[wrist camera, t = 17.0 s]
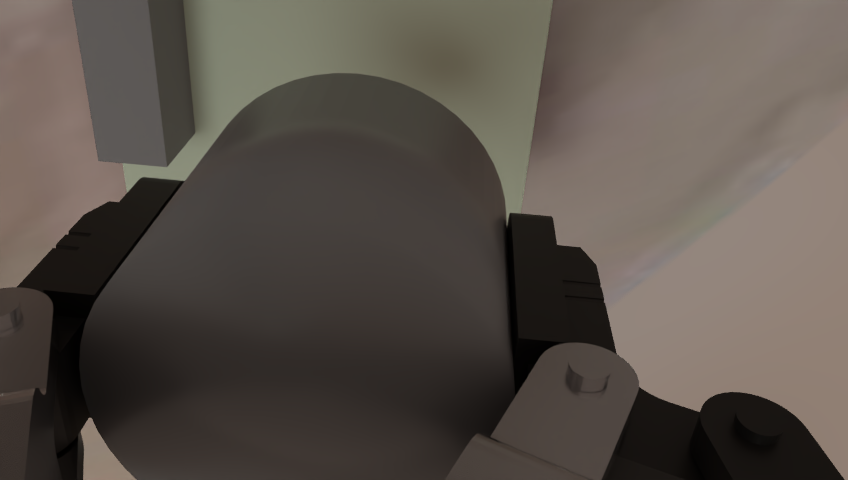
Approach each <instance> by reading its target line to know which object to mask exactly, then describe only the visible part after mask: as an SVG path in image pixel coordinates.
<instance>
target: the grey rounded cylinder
mask: <svg viewBox="0 0 848 480" xmlns="http://www.w3.org/2000/svg"><path fill="white" fill-rule="evenodd" d="M79 370H80V378H81V386H82V391H83V394H84V398H85V401H86V405H87V408H88V411H89V413H90V415H91V417H92V419H93V422H94V424H95V426H96V428H97V430H98V432H99V433H100V435H101V437H102V438H103V440H104V441H105V443H106V444H107V446H108V448H109V449H110V450H111V452H112V453H113V454H114V455H115V457H116V458H117V459H118V460H119V461H120V463H121V464H122V465H123V466H124V468H125V469H126V470H127V471H128V472H130V473H131V474H132V475H133V476H134V477H135V478H136V479H137V480H445V478H446V477H447V475H448V474H449V472H450V471H451V469H452V468H453V466H454V465H455V463H456V462H457V460H458V459H459V457H460V455H461V454H462V452H463V451H464V449H465V448H466V446H467V445H468V443H469V442H470V441H471V439H472V438H473V437H474V436H475V435H476V434H477V433H483V434H485V435H488V436H491V435H492V433H493V431H494V430H495V428H496V427H497V425H498V423H499V422H500V420H501V419H502V417H503V415H504V414H505V412H506V411H507V409H508V407H509V406H510V404H511V403H512V401H513V399H514V398H515V381H514V369H513V349H512V328H511V307H510V286H509V265H508V244H507V217H506V205H505V197H504V193H503V189H502V184H501V181H500V178H499V176H498V173H497V171H496V168H495V165H494V163H493V161H492V160H491V158H490V156H489V154H488V153H487V151H486V149H485V147H484V146H483V145H482V143H481V142H480V141H479V139H478V138H477V137H476V135H475V134H474V133H473V131H472V130H471V129H470V128H469V127H468V126H467V125H466V124H465V123H464V122H463V121H462V120H461V119H460V118H459V117H458V116H457V115H455V114H454V113H453V112H451V111H450V110H449V109H448V108H446V107H445V106H444V105H442V104H441V103H440V102H438V101H436V100H435V99H433V98H431V97H429V96H428V95H426V94H424V93H423V92H421V91H418V90H416V89H414V88H411V87H409V86H407V85H404V84H402V83H399V82H396V81H392V80H389V79H385V78H382V77H377V76H370V75H364V74H357V73H330V74H321V75H313V76H309V77H304V78H300V79H296V80H293V81H290V82H287V83H285V84H282V85H280V86H277V87H275V88H273V89H271V90H269V91H268V92H266V93H264V94H262V95H260V96H259V97H257V98H256V99H254V100H253V101H252V102H251V103H249V104H248V105H247V106H245V107H244V108H243V109H242V110H241V111H240V112H239V113H238V114H237V115H236V116H235V117H234V118H233V119H232V120H231V121H230V122H229V123H228V125H227V126H226V127H225V129H224V130H223V131H222V133H221V134H220V135H219V137H218V138H217V139H216V141H215V142H214V143H213V145H212V146H211V147H210V149H209V150H208V151H207V153H206V154H205V155H204V156H203V158H202V159H201V160H200V162H199V163H198V164H197V166H196V167H195V168H194V170H193V171H192V172H191V174H190V175H189V176H188V178H187V179H186V180H185V182H184V183H183V184H182V186H181V187H180V188H179V189H178V191H177V192H176V193H175V195H174V196H173V197H172V199H171V200H170V201H169V203H168V204H167V205H166V207H165V208H164V209H163V211H162V212H161V213H160V215H159V216H158V217H157V219H156V220H155V221H154V222H153V224H152V225H151V226H150V228H149V229H148V230H147V232H146V233H145V234H144V236H143V237H142V238H141V240H140V241H139V242H138V244H137V245H136V246H135V248H134V249H133V250H132V252H131V253H130V254H129V256H128V257H127V258H126V259H125V261H124V262H123V263H122V265H121V266H120V267H119V269H118V270H117V271H116V273H115V274H114V275H113V277H112V278H111V279H110V281H109V282H108V283H107V285H106V286H105V288H104V289H103V291H102V292H101V294H100V295H99V296H98V298H97V299H96V301H95V302H94V304H93V307H92V309H91V311H90V313H89V316H88V318H87V320H86V323H85V326H84V330H83V335H82V339H81V343H80V357H79Z"/></svg>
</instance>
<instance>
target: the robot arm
mask: <svg viewBox="0 0 848 480" xmlns="http://www.w3.org/2000/svg"><path fill="white" fill-rule="evenodd" d="M184 182H185V181H180V180H170V179H159V178H149V177H142V178H140V179H139V180H138V181H137V182H136V183H135V185H134V186H133V187H132V188H131V189H130V190H129V191H128V193H127V194H126V195H125V196H124V197H123V198H122V199H121V201H120V202H110V201H109V202H107V203H105V204H103V205H102V206H100V207H98V208H96V209H94V210H92V211H90V212H88V213H86V214H85V215H83V216H82V217H81V219H80V220H79V221H78V222H77V223H76V224H75V225H74V226H73V227H72V228H71V229H70V230H69V234H68V235H65V236H64V237H63V238H62V239H61V240H60V241H59V242H58V243H57V244H56V249H55V248H53V249H52V250H51V251H50V252H49V253H48V254H47V255H46V256H45V257H44V258H43V259H42V261H41V262H40V263H39V264H38V265H37V266H36V267H35V268H34V269H33V270H32V271H31V272H30V273H29V275H28V276H27V277H26V278H25V279H24V280H23V281H22V282H21V283H20V284H19V285H18V286H17V287H11V288H1V289H0V480H83V460H84V446H83V440H82V435H81V429H82V428H83V426H84V425H85V423H86V421H87V420H88V418H92V417H91V415H90V413H89V411H88V408H87V405H86V401H85V398H84V394H83V391H82V386H81V378H80V370H79V357H80V343H81V339H82V335H83V330H84V326H85V323H86V320H87V318H88V316H89V313H90V311H91V309H92V307H93V304H94V302H95V301H96V299H97V298H98V296H99V295H100V294H101V292H102V291H103V289H104V288H105V286H106V285H107V283H108V282H109V281H110V279H111V278H112V277H113V275H114V274H115V273H116V271H117V270H118V269H119V267H120V266H121V265H122V263H123V262H124V261H125V259H126V258H127V257H128V256H129V254H130V253H131V252H132V250H133V249H134V248H135V246H136V245H137V244H138V242H139V241H140V240H141V238H142V237H143V236H144V234H145V233H146V232H147V230H148V229H149V228H150V226H151V225H152V224H153V222H154V221H155V220H156V219H157V217H158V216H159V215H160V213H161V212H162V211H163V209H164V208H165V207H166V205H167V204H168V203H169V201H170V200H171V199H172V197H173V196H174V195H175V193H176V192H177V191H178V189H179V188H180V187H181V186H182V184H183V183H184ZM507 244H508V265H509V286H510V307H511V328H512V349H513V369H514V381H515V398H514V399H513V401H512V403H511V404H510V406H509V407H508V409H507V411H506V412H505V414H504V415H503V417H502V419H501V420H500V422H499V423H498V425H497V427H496V428H495V430H494V431H493V433H492V435H491V436H488V435H485V434H483V433H477V434H476V435H475V436H474V437H473V438H472V439H471V441H470V442H469V443H468V445H467V446H466V448H465V449H464V451H463V452H462V454H461V455H460V457H459V459H458V460H457V462H456V463H455V465H454V466H453V468H452V469H451V471H450V472H449V474H448V475H447V477H446V478H445V480H844V478H843V477H842V476H841V475H840V473H839V472H838V470H837V469H836V468H835V466H834V465H833V463H832V462H831V461H830V459H829V458H828V457H827V455H826V454H825V453H824V451H823V450H822V448H821V447H820V446H819V444H818V443H817V442H816V440H815V439H814V438H813V436H812V435H811V434H810V432H809V431H808V429H807V428H806V427H805V426H804V424H803V423H802V422H801V421H800V420H799V419H798V418H797V417H796V416H795V415H793V414H792V413H791V412H789V411H788V410H787V409H785V408H783V407H782V406H780V405H778V404H776V403H774V402H772V401H770V400H768V399H765V398H762V397H759V396H755V395H752V394H747V393H740V392H729V393H721V394H717V395H715V396H713V397H711V398H709V399H708V400H707V401H706V402H705V403H704V404H703V406H702V408H701V411H700V412H697V411H694V410H691V409H688V408H685V407H682V406H679V405H676V404H673V403H670V402H667V401H664V400H662V399H659V398H657V397H655V396H653V395H651V394H649V393H648V392H646V391H644V390H643V389H641V388H640V387H639V380H638V377H637V374H636V373H635V371H634V369H633V368H632V367H631V366H630V364H629V363H627V362H626V361H625V360H624V359H623V358H621V357H620V356H619V355H617V353H616V349H615V346H614V340H613V336H612V332H611V327H610V323H609V319H608V314H607V310H606V305H605V303H604V297H603V292H602V288H601V287H600V279H599V275H598V271H597V266H596V264H595V263H594V262H593V261H592V260H591V259H590V258H589V256H588V255H587V254H586V253H585V252H584V251H583V250H582V249H581V248H580V247H571V246H560V245H557V242H556V235H555V229H554V222H553V218H552V217H551V216H541V215H530V214H520V213H510V214H509V218H508V223H507Z"/></svg>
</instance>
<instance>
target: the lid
mask: <svg viewBox="0 0 848 480" xmlns="http://www.w3.org/2000/svg"><path fill="white" fill-rule="evenodd" d="M72 4H73V10H74V16H75V22H76V28H77V34H78V40H79V46H80V52H81V58H82V64H83V70H84V76H85V82H86V88H87V95H88V101H89V107H90V113H91V119H92V125H93V131H94V137H95V143H96V149H97V155H98V161H105V162H115V163H123V169H124V176H125V183H126V190H127V193H128V191H129V190H130V189H131V188H132V187H133V186H134V185H135V183H136V182H137V181H138V180H139V179H140V178H142V177H149V178H159V179H170V180H180V181H185V180H186V179H187V178H188V176H189V175H190V174H191V172H192V171H193V170H194V168H195V167H196V166H197V164H198V163H199V162H200V160H201V159H202V158H203V156H204V155H205V154H206V153H207V151H208V150H209V149H210V147H211V146H212V145H213V143H214V142H215V141H216V139H217V138H218V137H219V135H220V134H221V133H222V131H223V130H224V129H225V127H226V126H227V125H228V123H229V122H230V121H231V120H232V119H233V118H234V117H235V116H236V115H237V114H238V113H239V112H240V111H241V110H242V109H243V108H244V107H245V106H247V105H248V104H249V103H251V102H252V101H253V100H254V99H256V98H257V97H259V96H260V95H262V94H264V93H266V92H268V91H269V90H271V89H273V88H275V87H277V86H280V85H282V84H285V83H287V82H290V81H293V80H296V79H300V78H304V77H309V76H313V75H321V74H330V73H357V74H364V75H370V76H377V77H382V78H385V79H389V80H392V81H396V82H399V83H402V84H404V85H407V86H409V87H411V88H414V89H416V90H418V91H421V92H423V93H424V94H426V95H428V96H429V97H431V98H433V99H435V100H436V101H438V102H440V103H441V104H442V105H444V106H445V107H446V108H448V109H449V110H450V111H451V112H453V113H454V114H455V115H457V116H458V117H459V118H460V119H461V120H462V121H463V122H464V123H465V124H466V125H467V126H468V127H469V128H470V129H471V130H472V131H473V133H474V134H475V135H476V137H477V138H478V139H479V141H480V142H481V143H482V145H483V146H484V147H485V149H486V151H487V153H488V154H489V156H490V158H491V160H492V161H493V163H494V165H495V168H496V171H497V173H498V176H499V178H500V181H501V184H502V189H503V193H504V197H505V205H506V217H507V223H508V218H509V214H510V213H520V214H521V208H522V201H523V195H524V188H525V181H526V175H527V168H528V162H529V155H530V149H531V142H532V135H533V129H534V122H535V116H536V109H537V103H538V96H539V89H540V83H541V76H542V70H543V63H544V57H545V50H546V44H547V37H548V30H549V24H550V17H551V11H552V4H553V0H72Z"/></svg>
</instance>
